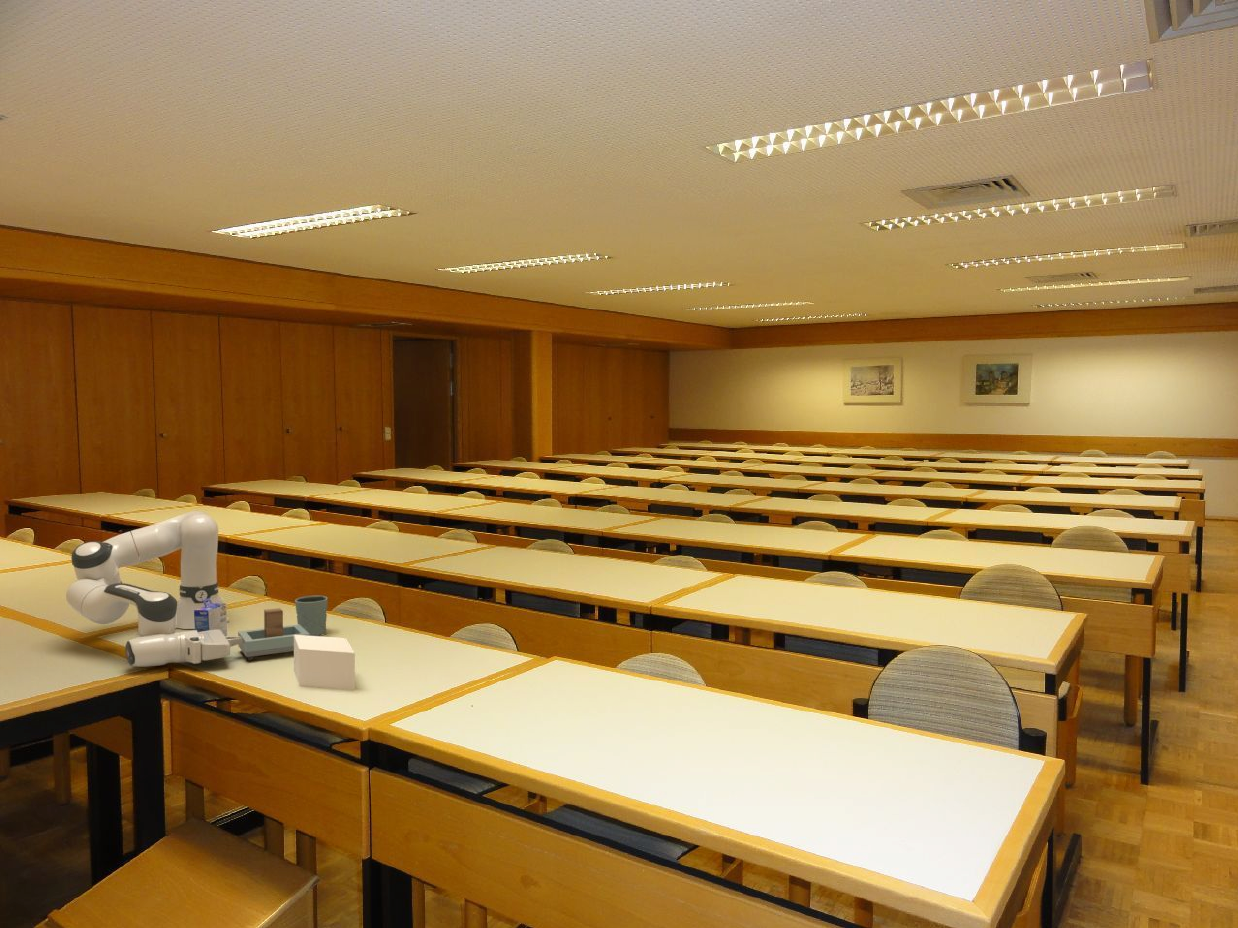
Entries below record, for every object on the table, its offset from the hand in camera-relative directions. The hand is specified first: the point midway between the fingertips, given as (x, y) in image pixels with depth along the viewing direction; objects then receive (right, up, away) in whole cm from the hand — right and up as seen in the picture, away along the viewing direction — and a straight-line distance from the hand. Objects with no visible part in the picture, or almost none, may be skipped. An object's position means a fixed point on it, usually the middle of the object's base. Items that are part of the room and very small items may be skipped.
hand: (242, 639), depth 252 cm
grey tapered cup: (+10, -4, +28) cm, 30 cm away
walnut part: (+7, -2, +6) cm, 9 cm away
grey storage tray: (+7, -5, +6) cm, 11 cm away
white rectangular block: (+31, -7, -19) cm, 37 cm away
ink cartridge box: (-16, -5, +14) cm, 22 cm away
